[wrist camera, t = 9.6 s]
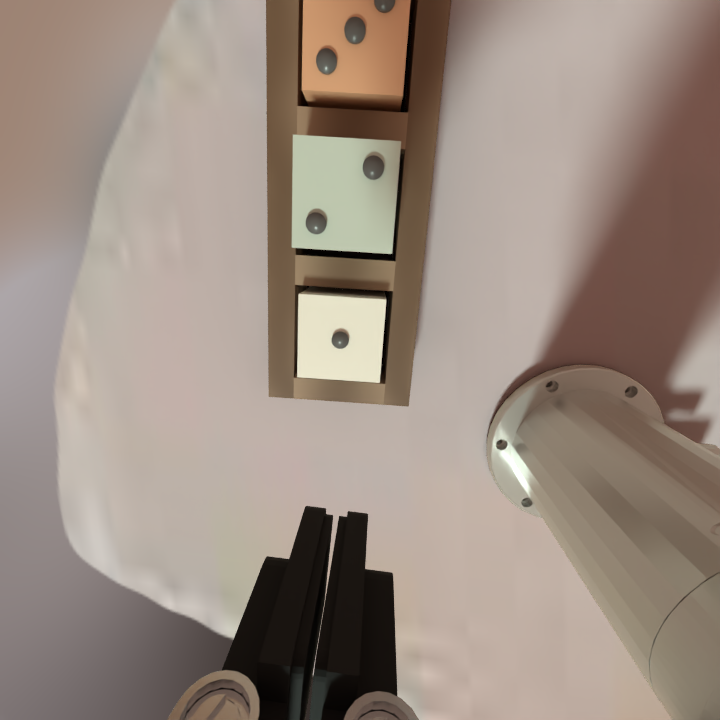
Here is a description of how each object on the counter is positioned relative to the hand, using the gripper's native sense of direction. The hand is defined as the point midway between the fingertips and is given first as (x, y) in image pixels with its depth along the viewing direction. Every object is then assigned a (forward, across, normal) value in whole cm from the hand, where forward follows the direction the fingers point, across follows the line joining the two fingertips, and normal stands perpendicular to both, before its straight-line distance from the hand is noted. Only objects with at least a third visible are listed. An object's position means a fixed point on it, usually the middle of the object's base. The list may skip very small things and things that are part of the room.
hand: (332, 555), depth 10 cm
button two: (+16, +2, -10) cm, 19 cm away
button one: (+18, +2, -3) cm, 19 cm away
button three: (+18, +2, -18) cm, 26 cm away
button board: (+18, +2, -10) cm, 21 cm away
